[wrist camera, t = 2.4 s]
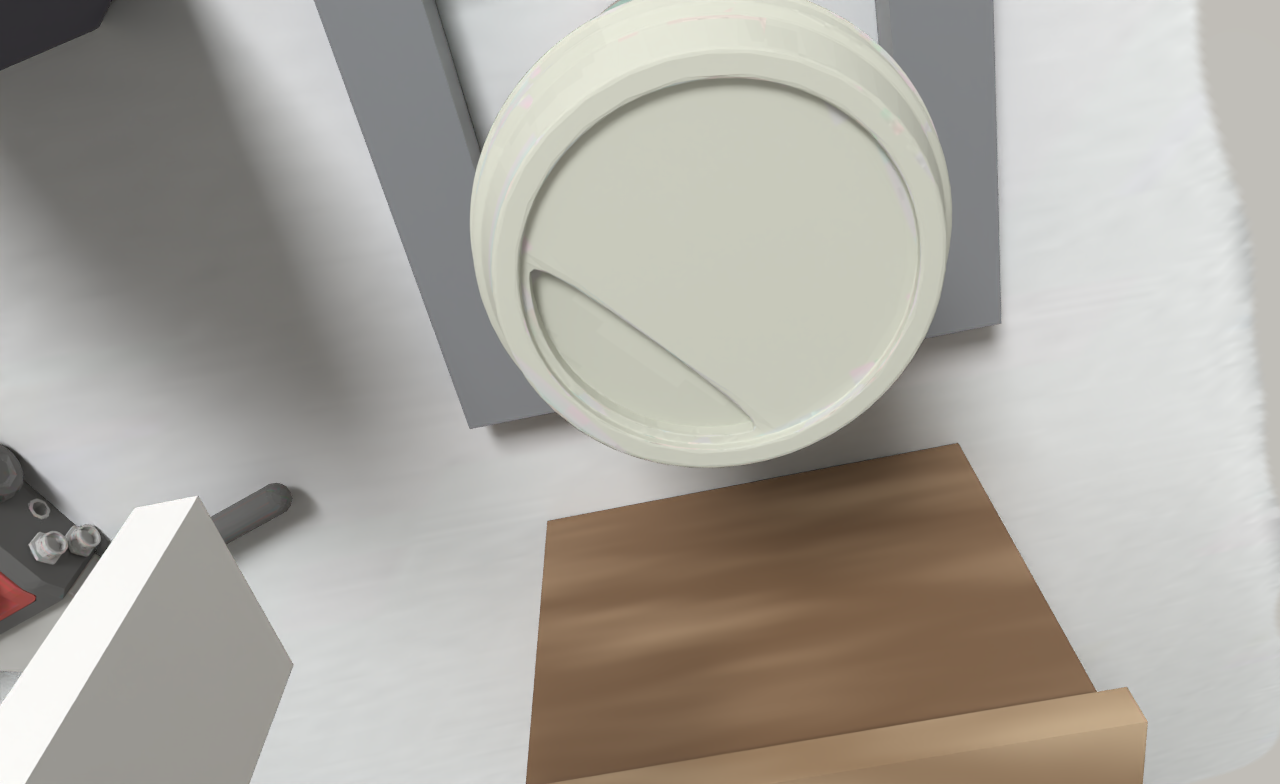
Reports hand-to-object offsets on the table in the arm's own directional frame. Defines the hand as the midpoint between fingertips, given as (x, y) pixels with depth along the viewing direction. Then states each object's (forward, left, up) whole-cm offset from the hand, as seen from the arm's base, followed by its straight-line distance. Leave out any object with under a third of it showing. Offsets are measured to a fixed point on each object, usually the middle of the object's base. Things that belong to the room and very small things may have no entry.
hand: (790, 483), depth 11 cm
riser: (-14, -14, -18) cm, 27 cm away
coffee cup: (0, 0, -18) cm, 18 cm away
